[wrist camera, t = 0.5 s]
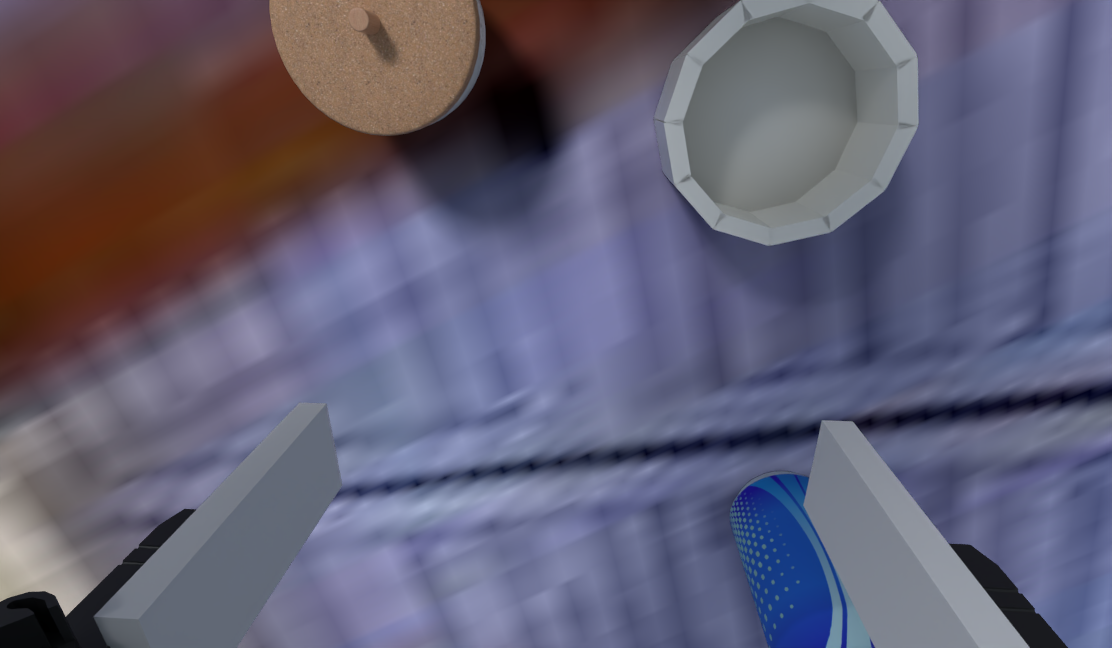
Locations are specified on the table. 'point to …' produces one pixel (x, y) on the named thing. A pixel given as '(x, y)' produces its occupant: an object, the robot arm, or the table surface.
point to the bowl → (788, 115)
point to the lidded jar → (381, 58)
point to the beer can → (791, 568)
